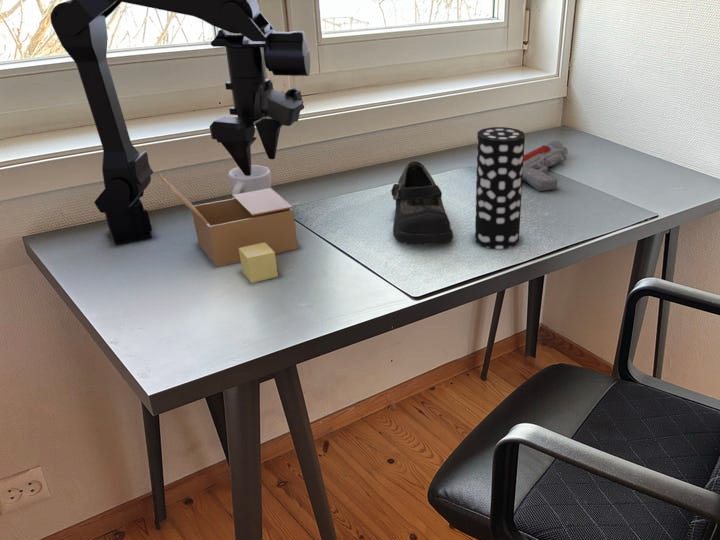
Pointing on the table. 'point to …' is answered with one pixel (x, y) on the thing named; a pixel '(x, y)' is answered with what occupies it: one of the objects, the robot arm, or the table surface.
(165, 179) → the flap
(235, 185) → the cup
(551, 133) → the table surface
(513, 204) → the spotted tube
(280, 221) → the carton
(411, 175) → the shoe
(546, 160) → the toy gun
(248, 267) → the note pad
